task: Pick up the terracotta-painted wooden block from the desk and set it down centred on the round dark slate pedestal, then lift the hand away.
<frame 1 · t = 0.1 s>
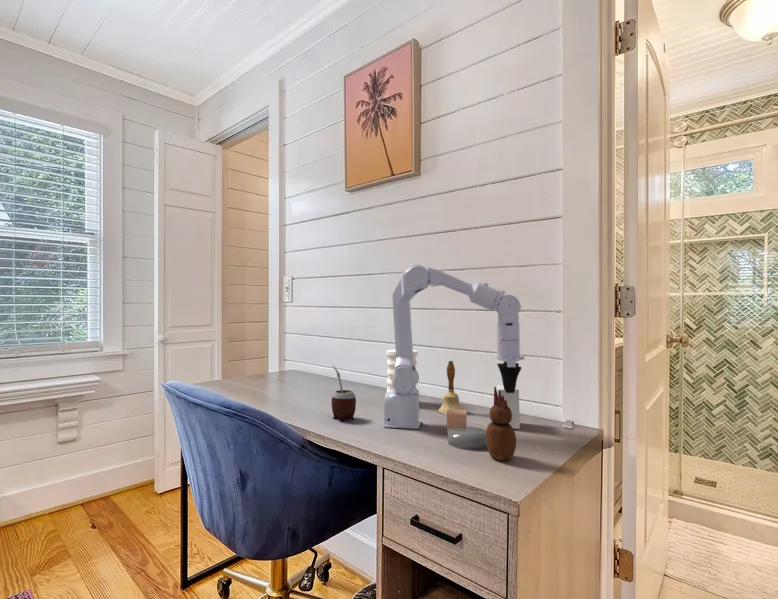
hand: (509, 391, 113), 10 cm above the table, tool pointing down, fingers open, 3 cm apart
small box: (508, 426, 118), on the table, touching gripper
mate gourd: (342, 419, 124), on the table
hand bell: (451, 412, 134), on the table
block: (456, 431, 113), on the table
decorative container: (401, 404, 146), on the table
pedestal: (468, 442, 103), on the table
wooden figurine: (500, 459, 92), on the table
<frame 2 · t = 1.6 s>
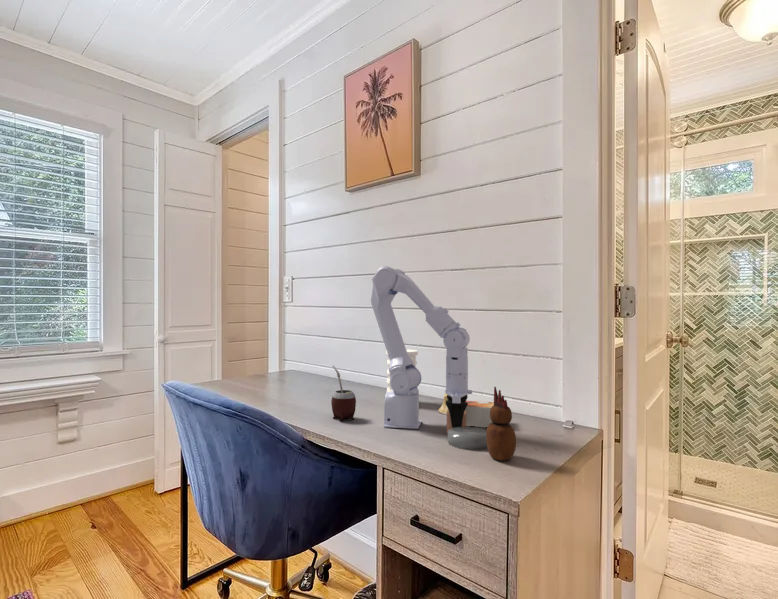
hand: (456, 425, 113), 1 cm above the table, tool pointing down, fingers open, 6 cm apart
small box: (499, 414, 119), point 3 cm above the table, touching gripper
everything else where it was.
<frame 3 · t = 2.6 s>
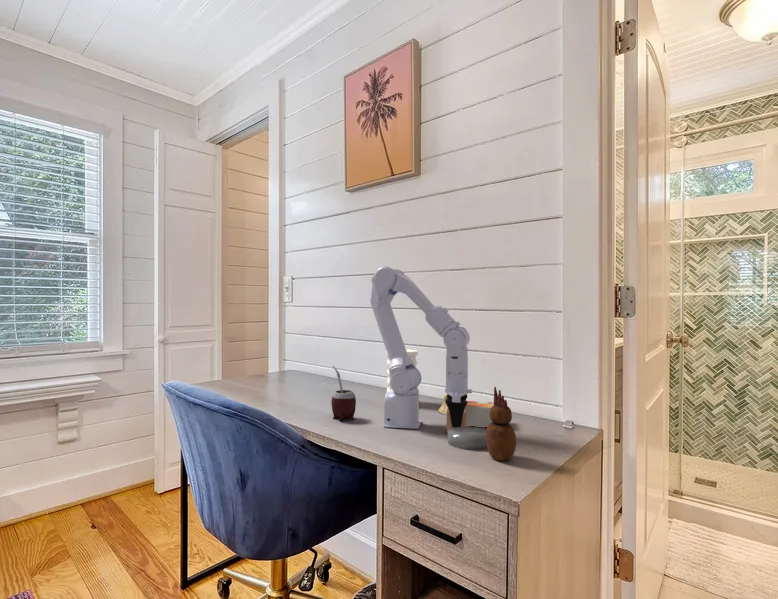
hand: (456, 424, 113), 2 cm above the table, tool pointing down, fingers closed on block, 5 cm apart
small box: (499, 414, 119), point 3 cm above the table
block: (456, 429, 113), on the table, touching gripper
everything else where it was.
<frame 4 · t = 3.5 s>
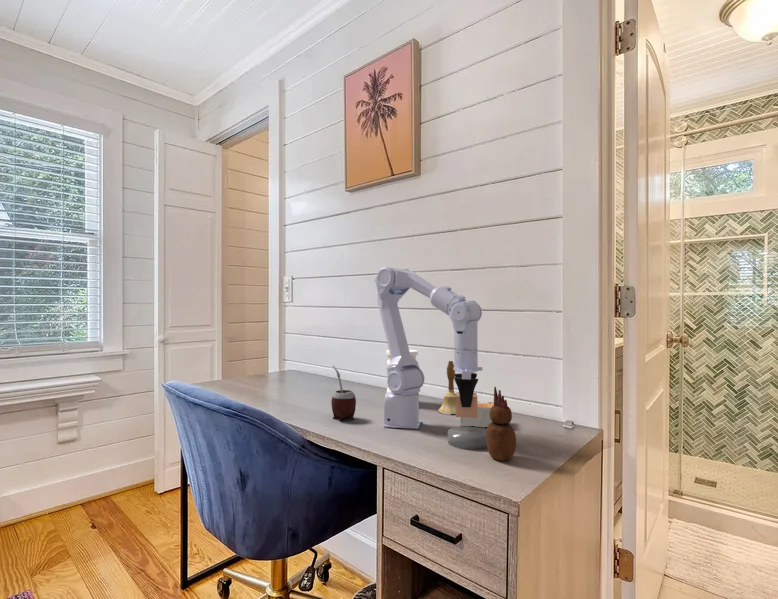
hand: (466, 404, 106), 9 cm above the table, tool pointing down, fingers closed on block, 5 cm apart
block: (466, 414, 105), point 6 cm above the table, touching gripper
everything else where it was.
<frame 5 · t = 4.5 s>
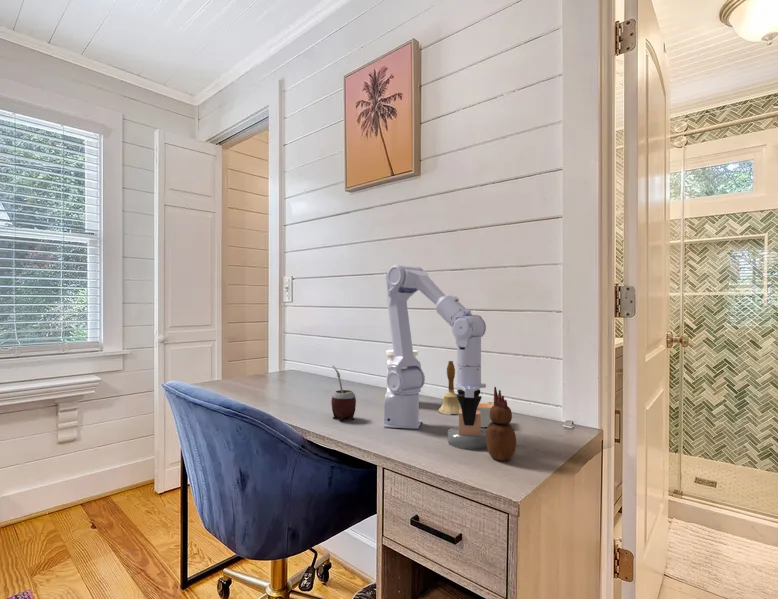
hand: (468, 422, 103), 5 cm above the table, tool pointing down, fingers closed on block, 5 cm apart
block: (469, 432, 103), point 2 cm above the table, touching gripper, pedestal
everything else where it was.
when the fingers open (5 cm above the table, at t = 4.8 s): block stays where it is, resting on pedestal.
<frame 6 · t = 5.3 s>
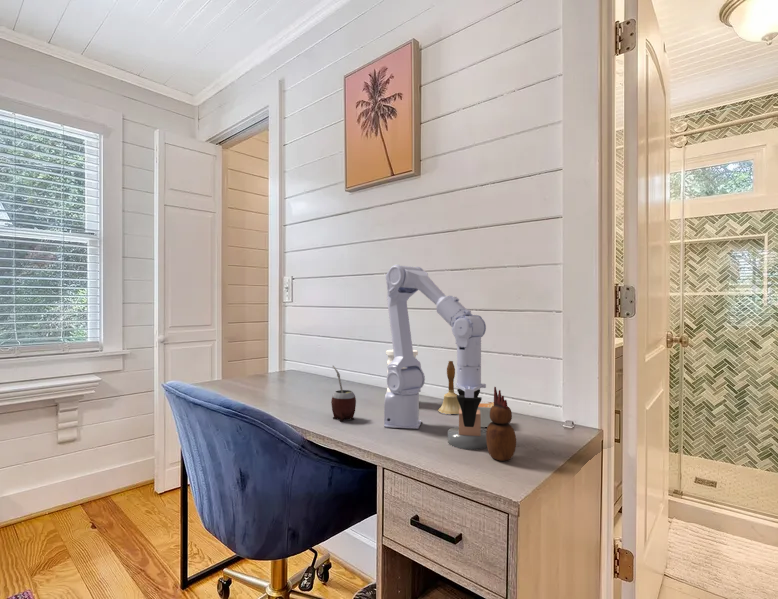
hand: (468, 422, 103), 5 cm above the table, tool pointing down, fingers open, 7 cm apart
block: (469, 432, 103), point 2 cm above the table, touching pedestal
everything else where it was.
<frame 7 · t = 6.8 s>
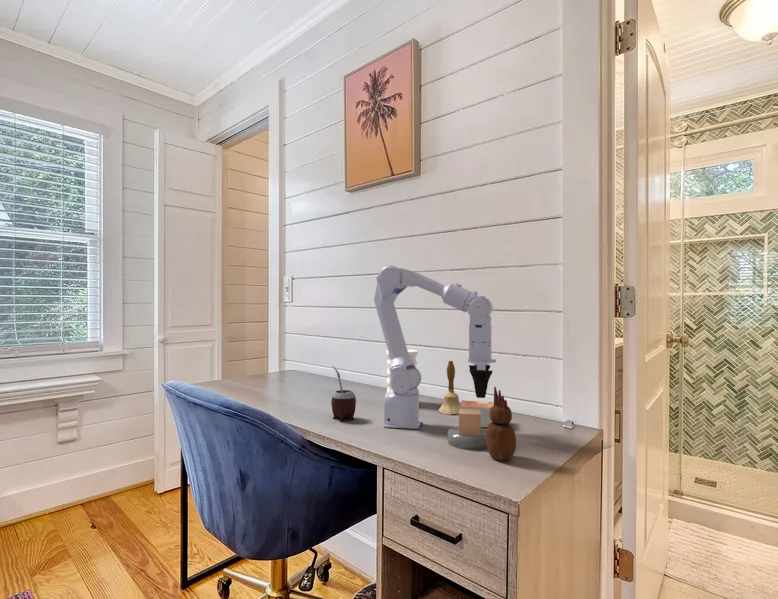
hand: (480, 394, 111), 10 cm above the table, tool pointing down, fingers open, 7 cm apart
nothing on the table moved.
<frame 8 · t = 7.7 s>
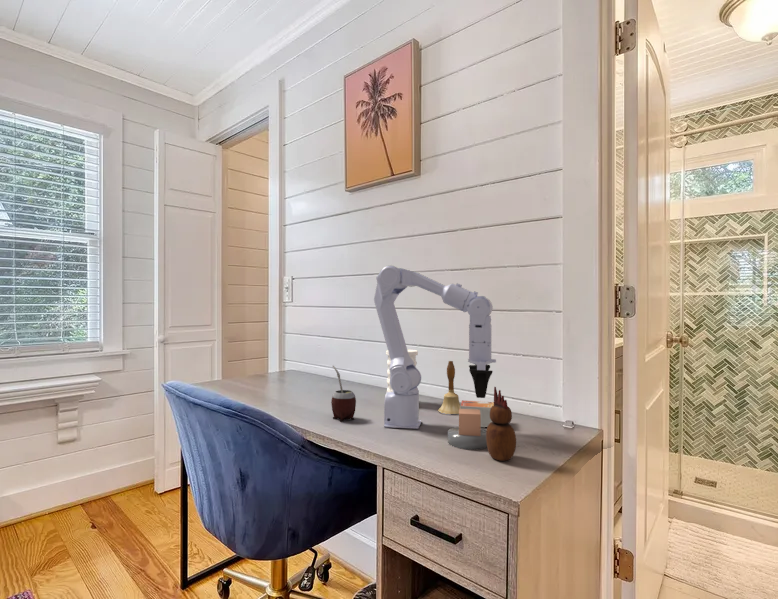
hand: (480, 394, 111), 10 cm above the table, tool pointing down, fingers open, 7 cm apart
nothing on the table moved.
at the end: block 0.2 cm off-centre on the pedestal, point 2.5 cm above the pedestal's base; block tilted 0°; the gripper is holding nothing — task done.
